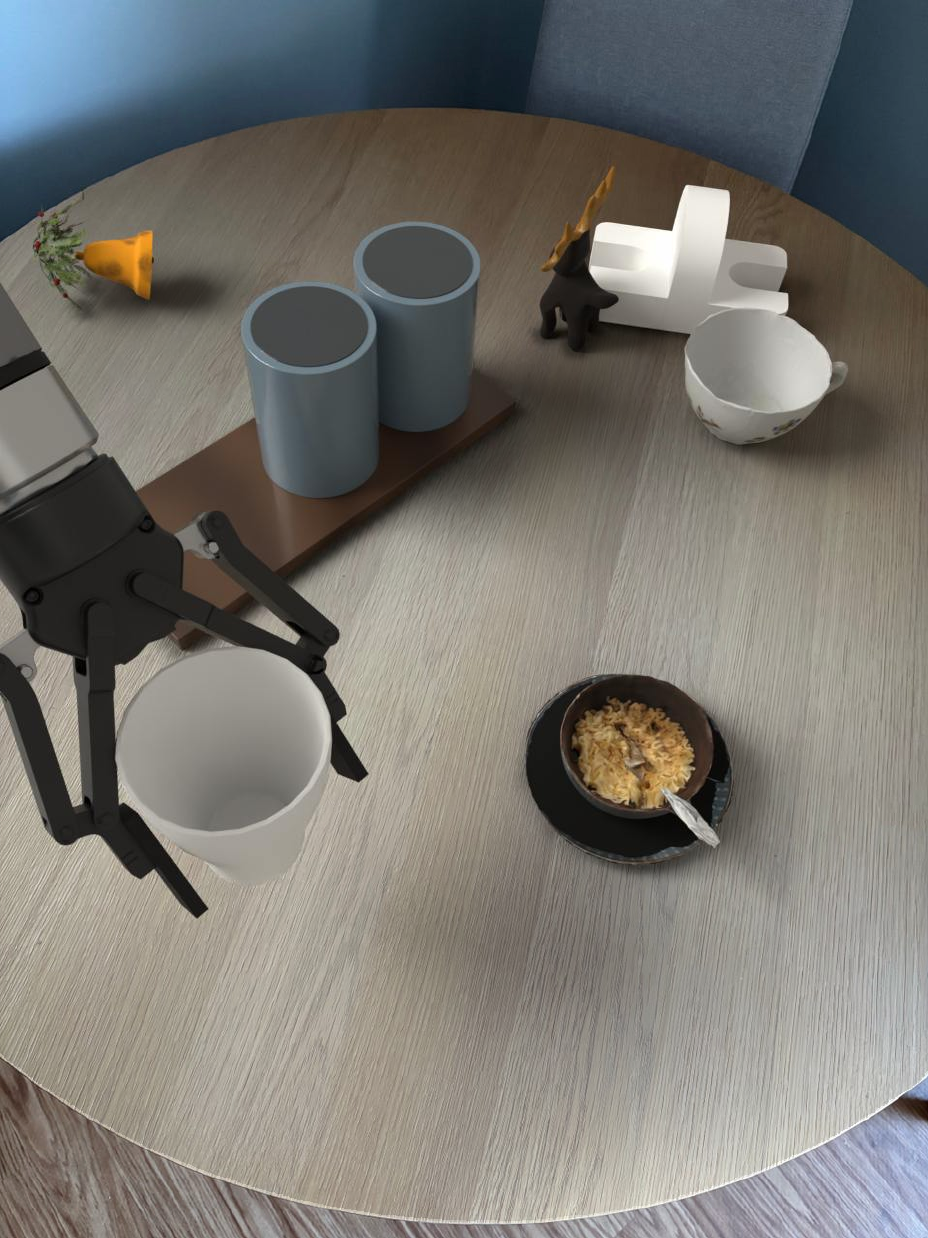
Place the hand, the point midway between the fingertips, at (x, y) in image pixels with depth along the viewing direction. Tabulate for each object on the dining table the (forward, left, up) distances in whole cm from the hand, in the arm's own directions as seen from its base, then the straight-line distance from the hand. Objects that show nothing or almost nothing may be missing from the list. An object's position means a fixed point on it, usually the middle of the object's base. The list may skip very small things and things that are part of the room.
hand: (277, 837), depth 57 cm
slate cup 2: (+18, +44, -13) cm, 49 cm away
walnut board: (+7, +38, -15) cm, 41 cm away
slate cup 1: (+9, +38, -13) cm, 42 cm away
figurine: (+35, +49, -15) cm, 62 cm away
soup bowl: (+25, +4, -15) cm, 29 cm away
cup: (-2, +3, -6) cm, 6 cm away
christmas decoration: (-3, +62, -15) cm, 64 cm away
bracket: (+48, +52, -15) cm, 72 cm away
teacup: (+48, +35, -15) cm, 61 cm away
